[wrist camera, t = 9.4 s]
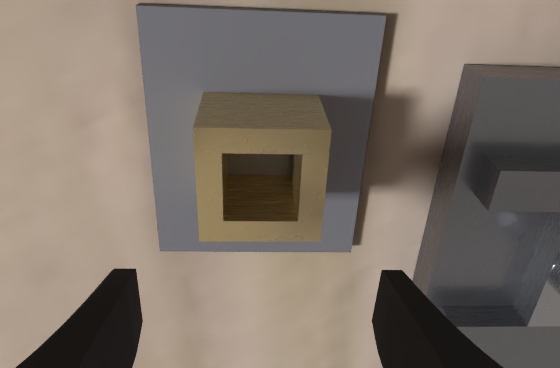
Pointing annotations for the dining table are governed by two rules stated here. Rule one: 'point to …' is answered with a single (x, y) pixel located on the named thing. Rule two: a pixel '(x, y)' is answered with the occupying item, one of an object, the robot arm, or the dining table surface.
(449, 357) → the robot arm
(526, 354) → the vise
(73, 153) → the dining table surface
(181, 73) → the mat
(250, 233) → the collar
